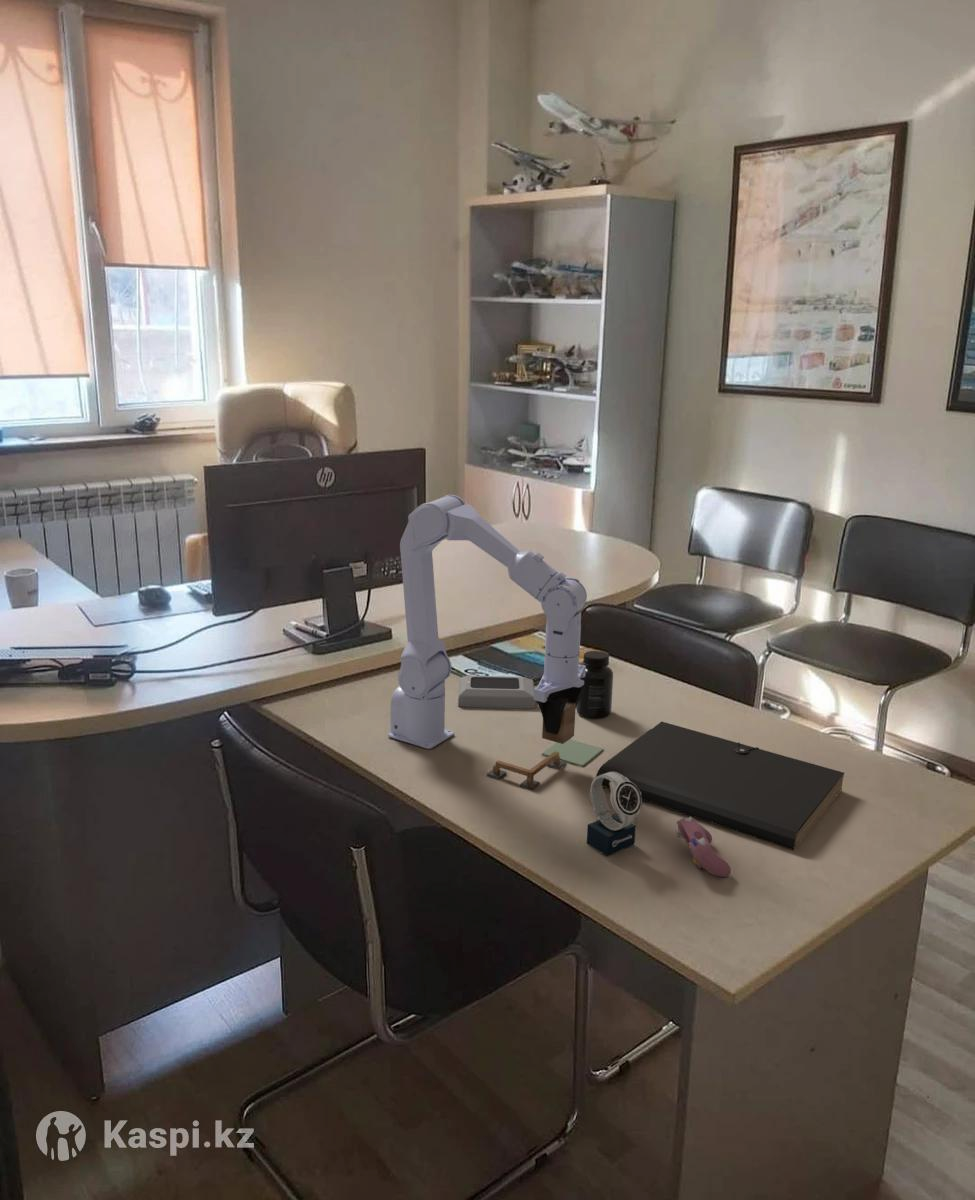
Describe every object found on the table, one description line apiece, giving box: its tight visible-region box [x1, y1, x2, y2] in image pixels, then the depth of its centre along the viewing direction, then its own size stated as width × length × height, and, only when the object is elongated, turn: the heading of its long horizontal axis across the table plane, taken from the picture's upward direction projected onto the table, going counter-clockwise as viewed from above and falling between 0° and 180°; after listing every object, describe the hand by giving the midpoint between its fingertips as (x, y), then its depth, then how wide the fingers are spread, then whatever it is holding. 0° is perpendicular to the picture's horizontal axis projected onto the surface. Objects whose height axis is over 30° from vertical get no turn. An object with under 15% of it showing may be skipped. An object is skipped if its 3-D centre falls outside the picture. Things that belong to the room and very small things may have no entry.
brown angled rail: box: [486, 751, 567, 791], centre depth 166 cm, size 9×11×2 cm
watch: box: [586, 772, 643, 857], centre depth 142 cm, size 6×8×11 cm
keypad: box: [457, 675, 536, 709], centre depth 196 cm, size 10×4×15 cm
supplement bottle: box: [575, 650, 614, 720], centre depth 188 cm, size 7×7×12 cm
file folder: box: [595, 721, 845, 851], centre depth 161 cm, size 33×4×24 cm
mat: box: [541, 738, 604, 768], centre depth 173 cm, size 8×8×1 cm
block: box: [541, 701, 576, 744], centre depth 166 cm, size 4×4×6 cm
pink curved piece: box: [675, 816, 732, 878], centre depth 139 cm, size 10×5×7 cm, turn 6°
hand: (558, 727), depth 166 cm, fingers closed on block, 4 cm apart
